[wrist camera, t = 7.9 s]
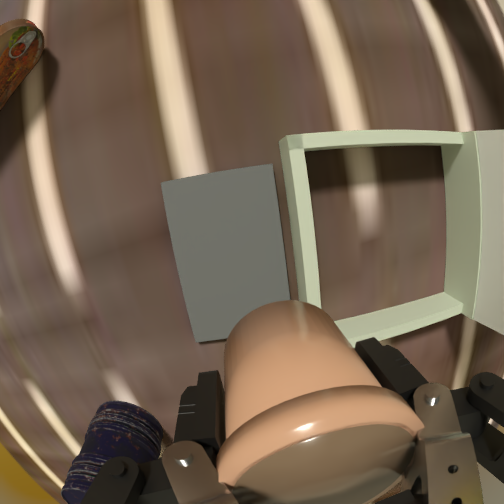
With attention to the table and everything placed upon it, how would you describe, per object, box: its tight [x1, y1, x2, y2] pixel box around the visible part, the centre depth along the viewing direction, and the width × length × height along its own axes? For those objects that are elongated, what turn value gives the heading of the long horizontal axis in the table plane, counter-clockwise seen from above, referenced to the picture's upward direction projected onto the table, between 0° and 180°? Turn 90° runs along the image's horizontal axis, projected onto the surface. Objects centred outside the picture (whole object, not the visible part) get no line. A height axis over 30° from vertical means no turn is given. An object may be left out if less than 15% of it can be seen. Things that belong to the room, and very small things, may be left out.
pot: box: [216, 300, 424, 504], centre depth 9 cm, size 6×6×7 cm
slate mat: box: [161, 164, 290, 342], centre depth 28 cm, size 10×16×1 cm, turn 9°
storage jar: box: [61, 401, 163, 504], centre depth 25 cm, size 10×10×15 cm
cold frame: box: [279, 130, 504, 348], centre depth 18 cm, size 23×20×22 cm
